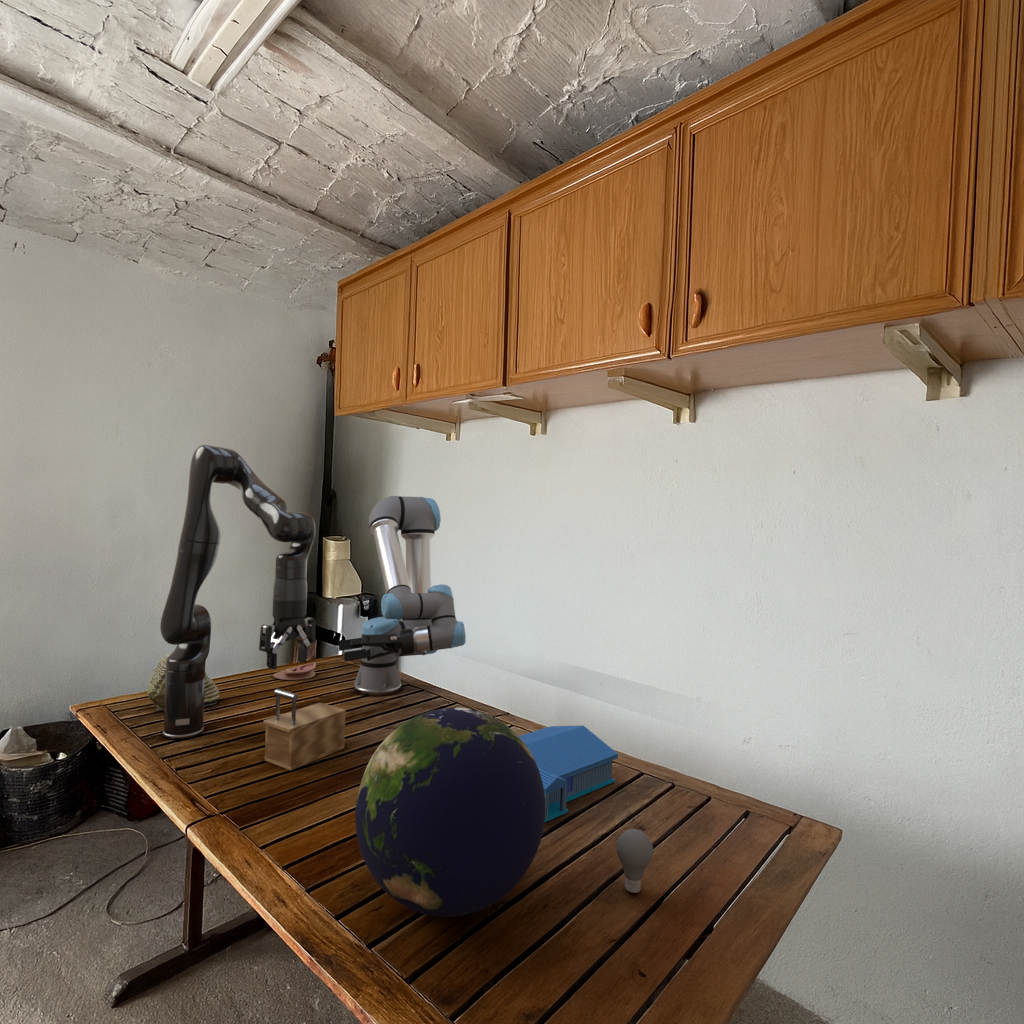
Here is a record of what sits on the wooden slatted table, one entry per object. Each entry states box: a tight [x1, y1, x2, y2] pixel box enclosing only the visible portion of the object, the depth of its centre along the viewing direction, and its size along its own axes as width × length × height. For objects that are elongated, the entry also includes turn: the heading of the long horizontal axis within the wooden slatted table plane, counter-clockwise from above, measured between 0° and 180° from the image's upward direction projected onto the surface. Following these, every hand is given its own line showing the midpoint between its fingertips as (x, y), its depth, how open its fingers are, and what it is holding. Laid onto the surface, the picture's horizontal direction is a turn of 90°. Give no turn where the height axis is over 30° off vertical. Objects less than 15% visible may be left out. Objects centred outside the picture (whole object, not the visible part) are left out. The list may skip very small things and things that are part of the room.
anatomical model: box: [272, 662, 317, 681], centre depth 220 cm, size 13×4×12 cm
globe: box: [354, 707, 546, 918], centre depth 101 cm, size 30×30×30 cm
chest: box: [264, 712, 347, 771], centre depth 155 cm, size 16×9×9 cm, turn 149°
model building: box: [518, 725, 619, 823], centre depth 140 cm, size 39×24×10 cm, turn 132°
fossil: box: [147, 654, 221, 712], centre depth 185 cm, size 9×18×15 cm, turn 132°
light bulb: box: [615, 828, 654, 894], centre depth 106 cm, size 6×6×10 cm
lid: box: [262, 688, 347, 733], centre depth 155 cm, size 17×9×8 cm, turn 149°
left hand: (287, 665), depth 149 cm, fingers open, 8 cm apart
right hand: (341, 651), depth 186 cm, fingers open, 13 cm apart
